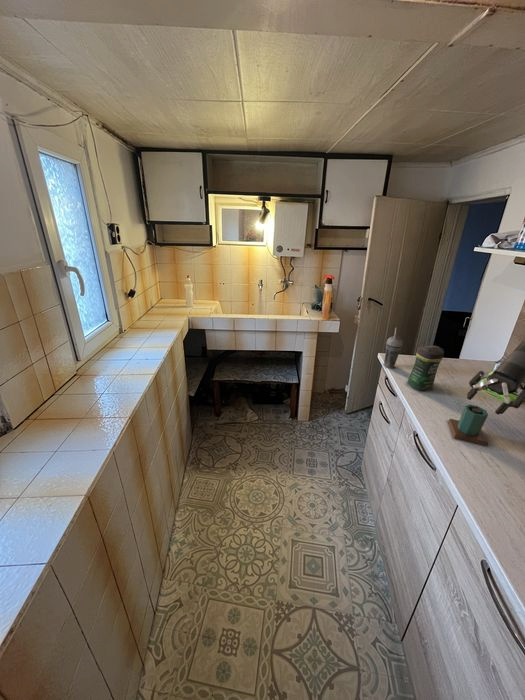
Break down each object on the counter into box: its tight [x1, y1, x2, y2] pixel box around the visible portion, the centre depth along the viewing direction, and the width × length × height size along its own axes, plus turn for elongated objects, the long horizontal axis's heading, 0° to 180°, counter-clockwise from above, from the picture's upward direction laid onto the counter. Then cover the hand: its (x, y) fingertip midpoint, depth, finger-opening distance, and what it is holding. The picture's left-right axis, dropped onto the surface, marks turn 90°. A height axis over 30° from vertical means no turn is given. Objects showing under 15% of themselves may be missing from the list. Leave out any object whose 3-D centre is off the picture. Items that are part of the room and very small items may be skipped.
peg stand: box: [448, 408, 489, 447], centre depth 92 cm, size 9×9×10 cm
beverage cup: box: [383, 327, 404, 369], centre depth 133 cm, size 7×7×20 cm
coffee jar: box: [407, 345, 445, 391], centre depth 117 cm, size 10×8×19 cm
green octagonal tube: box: [457, 404, 489, 436], centre depth 92 cm, size 6×6×8 cm
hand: (482, 405), depth 91 cm, fingers open, 8 cm apart
